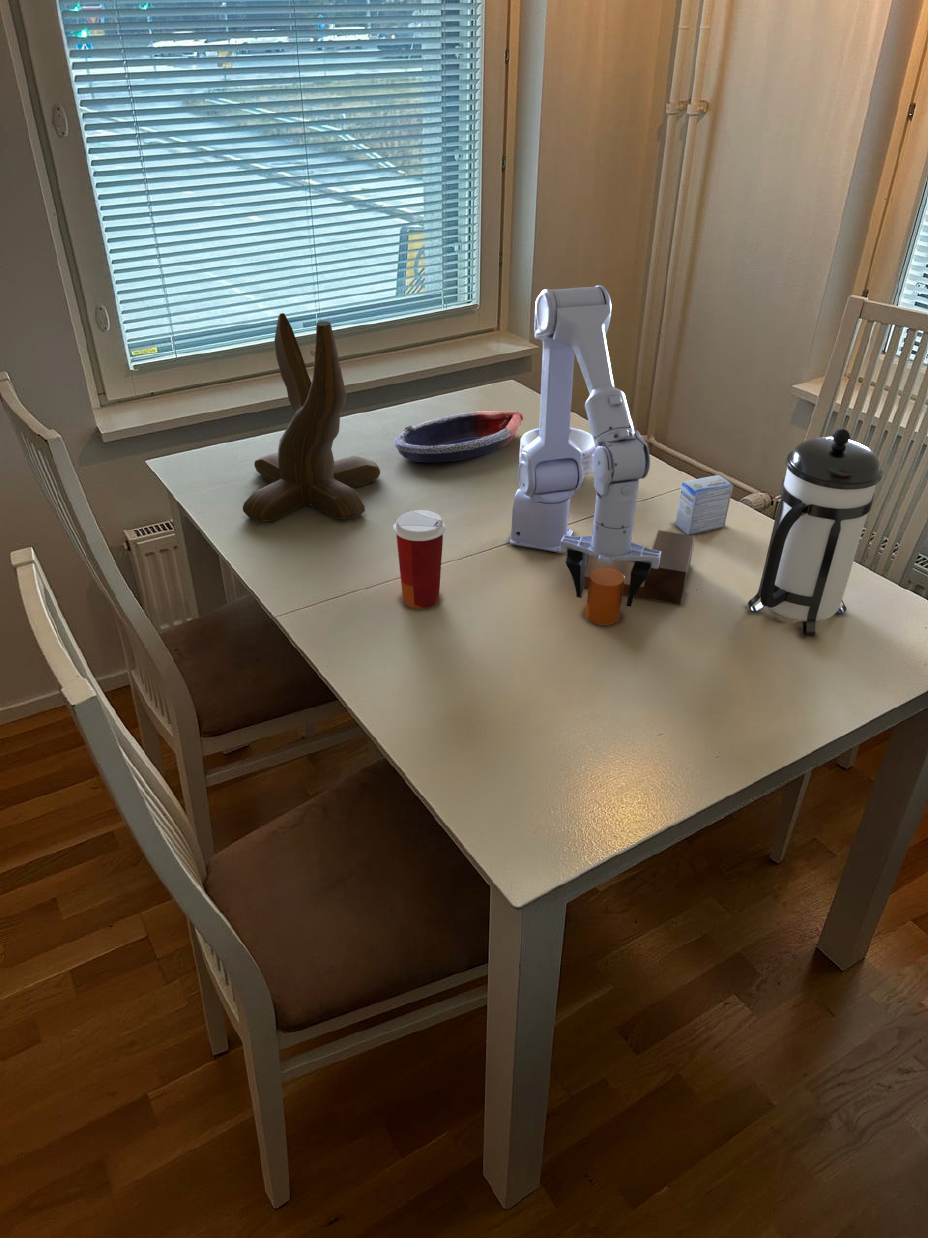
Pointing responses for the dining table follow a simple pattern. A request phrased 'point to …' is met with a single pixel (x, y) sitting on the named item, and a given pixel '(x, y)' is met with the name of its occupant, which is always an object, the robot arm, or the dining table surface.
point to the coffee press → (817, 528)
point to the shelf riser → (660, 581)
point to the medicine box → (703, 504)
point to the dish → (458, 436)
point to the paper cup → (420, 556)
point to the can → (604, 596)
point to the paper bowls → (577, 437)
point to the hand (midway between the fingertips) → (604, 598)
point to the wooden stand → (310, 438)
